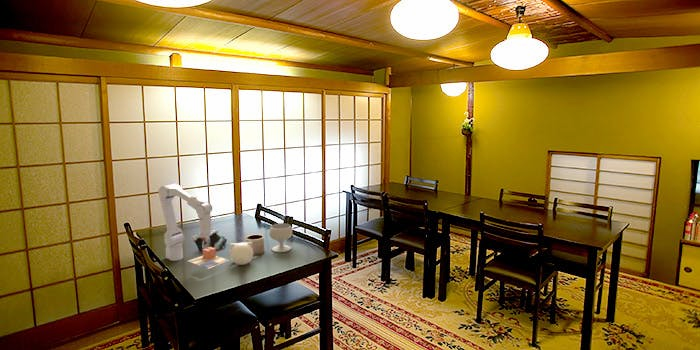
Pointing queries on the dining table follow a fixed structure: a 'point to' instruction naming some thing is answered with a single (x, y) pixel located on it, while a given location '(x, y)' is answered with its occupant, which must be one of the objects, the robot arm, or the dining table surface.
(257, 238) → the planter
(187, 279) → the dining table surface
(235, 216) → the dining table surface
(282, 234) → the chalice
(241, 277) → the dining table surface
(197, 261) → the board
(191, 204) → the robot arm
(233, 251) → the cat head
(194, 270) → the dining table surface
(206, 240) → the lucky cat figurine
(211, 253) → the strapped orange box
